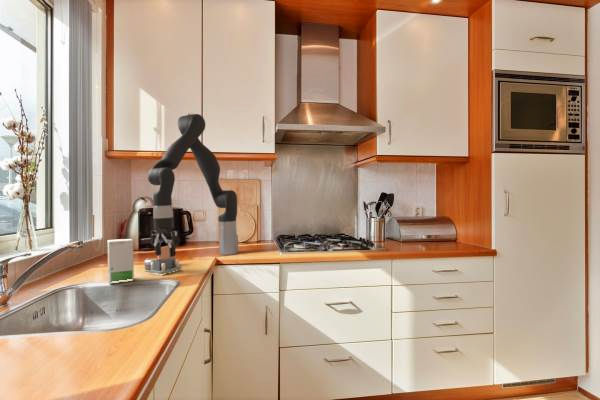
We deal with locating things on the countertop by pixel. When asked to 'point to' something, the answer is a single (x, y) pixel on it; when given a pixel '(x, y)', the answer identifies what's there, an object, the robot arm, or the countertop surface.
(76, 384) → the countertop surface
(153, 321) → the countertop surface
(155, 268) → the steel bar
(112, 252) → the skincare box
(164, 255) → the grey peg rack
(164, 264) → the peg board
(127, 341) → the countertop surface
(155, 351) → the countertop surface
